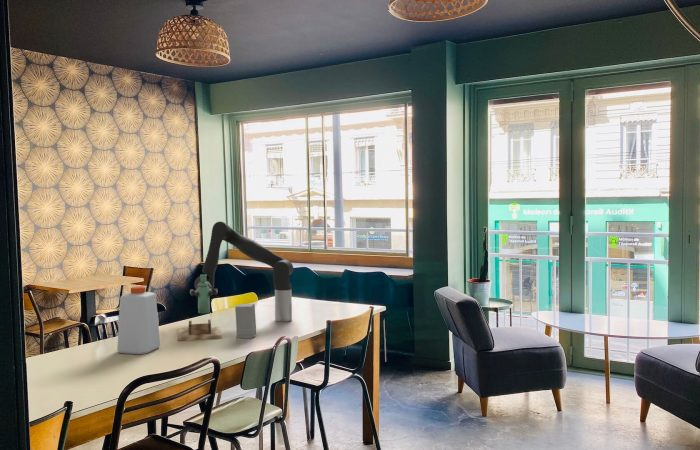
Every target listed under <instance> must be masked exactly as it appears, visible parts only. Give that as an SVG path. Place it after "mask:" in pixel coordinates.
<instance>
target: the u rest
mask: <svg viewBox="0 0 700 450" xmlns="http://www.w3.org/2000/svg"><path fill="white" fill-rule="evenodd" d="M222 336H223V335H222V330H221V326H212V321H211V319H207V322H205V323H193V322H192V320H188V328H180V329H179V330H178V336H177V341H178V342H181V341H183V342H184V341H198V340H199V341H200V340H211V339H212V340H213V339H222Z"/></svg>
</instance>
